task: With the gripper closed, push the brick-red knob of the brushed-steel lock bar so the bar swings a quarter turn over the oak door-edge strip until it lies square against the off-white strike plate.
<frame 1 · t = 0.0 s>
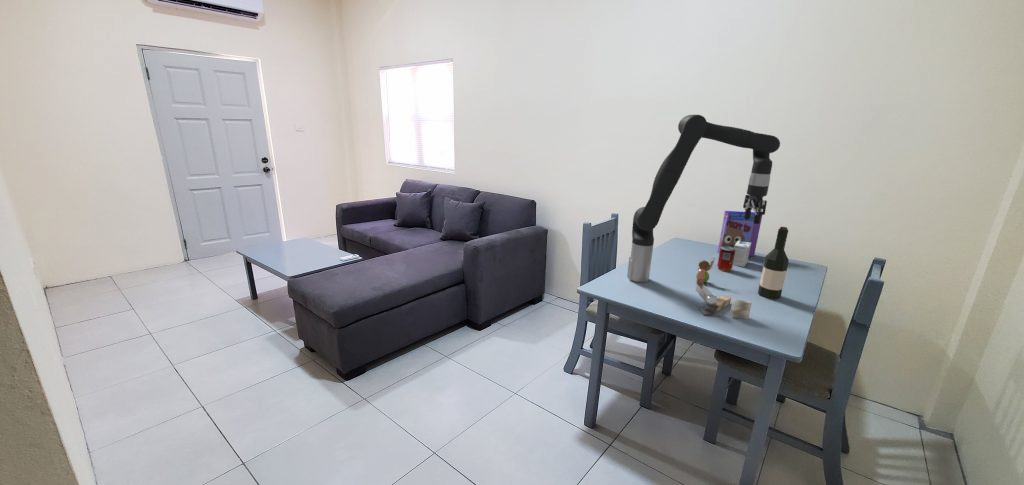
hand: (751, 221, 178), 29 cm above the table, tool pointing down, fingers open, 8 cm apart
light bulb box: (739, 263, 214), on the table
cereal box: (735, 254, 229), on the table
lock bar: (706, 286, 161), point 8 cm above the table, hinge at 0.0°
snail figurine: (702, 282, 187), on the table
soda can: (724, 269, 204), on the table
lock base: (709, 312, 157), on the table
wine bottle: (768, 296, 174), on the table
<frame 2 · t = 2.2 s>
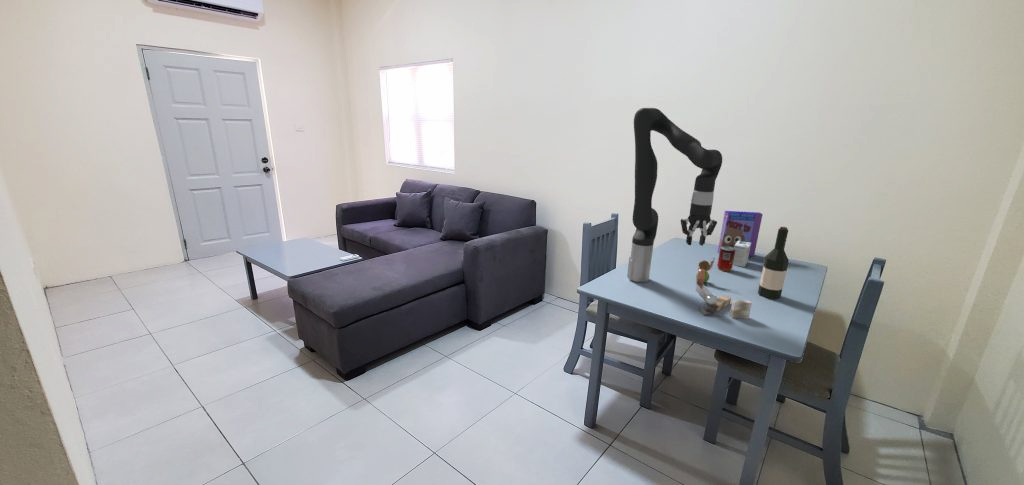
hand: (695, 244, 163), 23 cm above the table, tool pointing down, fingers open, 4 cm apart
nothing on the table moved.
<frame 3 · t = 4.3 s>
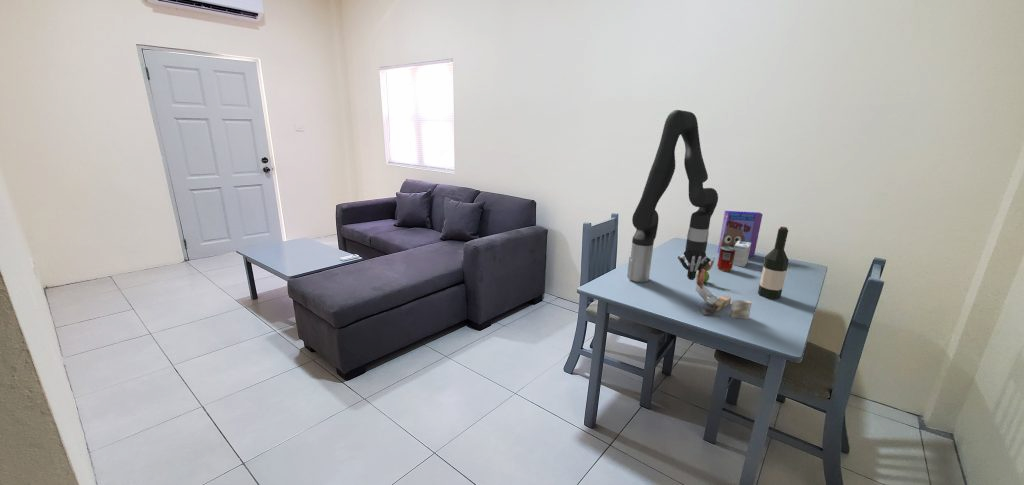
hand: (690, 279, 167), 9 cm above the table, tool pointing down, fingers closed
lock bar: (706, 286, 161), point 8 cm above the table, hinge at 0.0°, touching gripper
everything else where it was.
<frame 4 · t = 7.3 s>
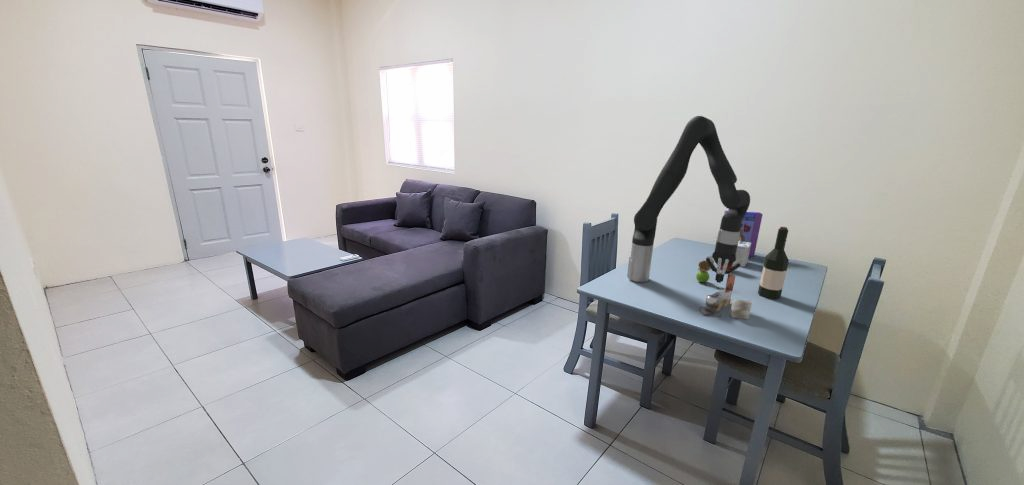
hand: (718, 282, 165), 9 cm above the table, tool pointing down, fingers closed
lock bar: (721, 289, 159), point 8 cm above the table, hinge at 48.9°, touching gripper
everything else where it was.
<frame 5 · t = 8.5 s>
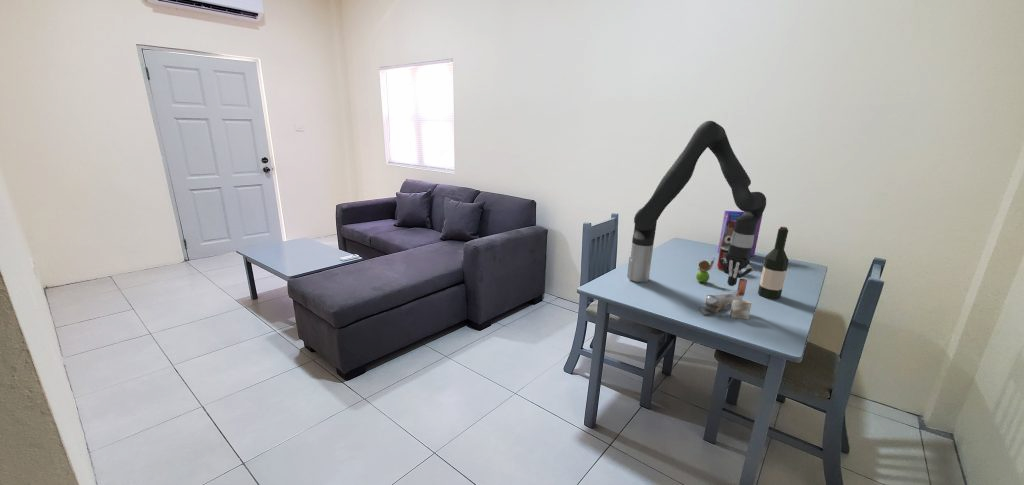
hand: (731, 285, 161), 9 cm above the table, tool pointing down, fingers closed
lock bar: (726, 292, 157), point 8 cm above the table, hinge at 71.3°, touching gripper
everything else where it was.
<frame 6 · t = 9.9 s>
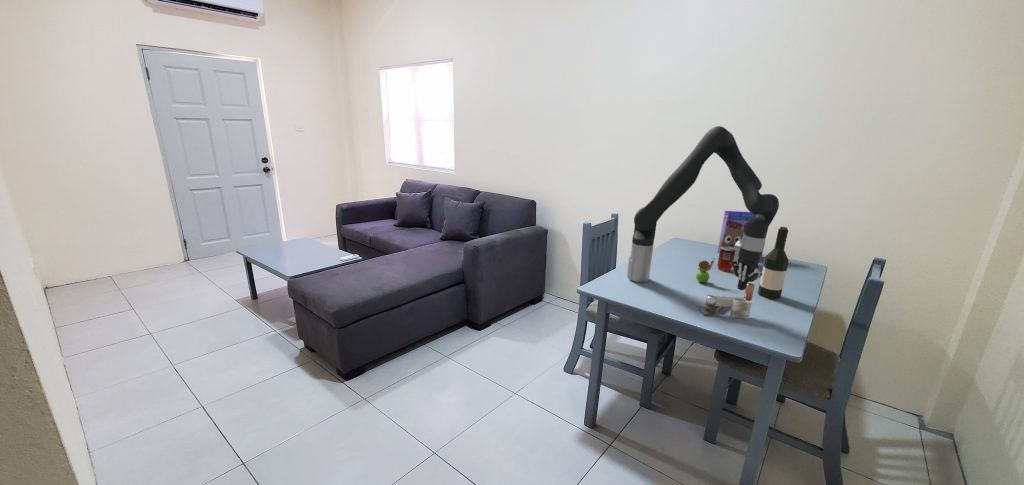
hand: (741, 289, 158), 9 cm above the table, tool pointing down, fingers closed
lock bar: (729, 294, 155), point 8 cm above the table, hinge at 91.3°, touching gripper, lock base
everything else where it was.
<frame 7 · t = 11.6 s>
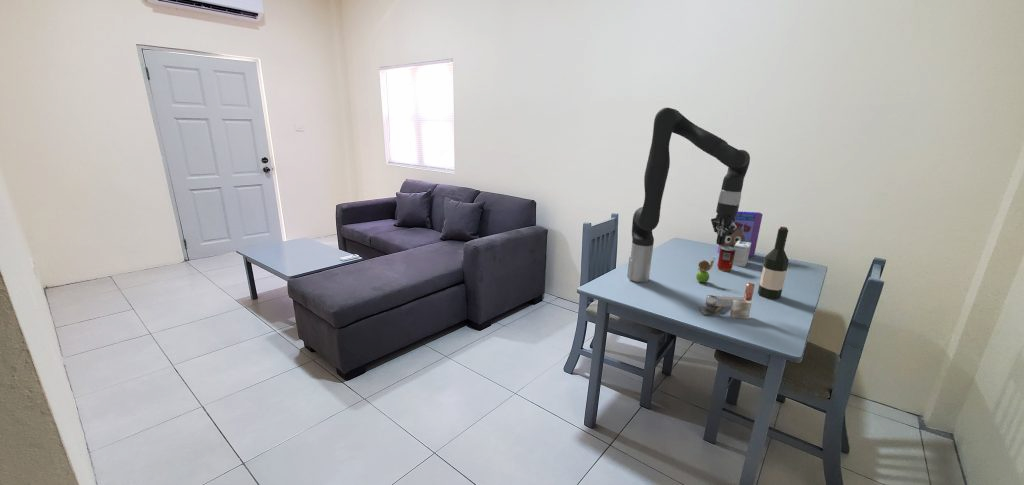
hand: (719, 244, 164), 23 cm above the table, tool pointing down, fingers closed
lock bar: (729, 294, 155), point 8 cm above the table, hinge at 91.1°
everything else where it was.
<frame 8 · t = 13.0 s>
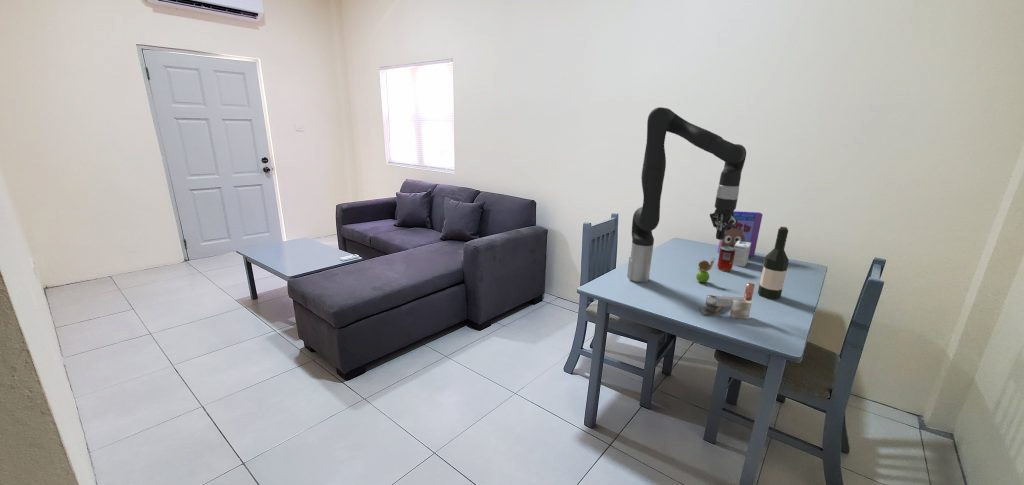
hand: (719, 239, 165), 25 cm above the table, tool pointing down, fingers closed
nothing on the table moved.
at the end: lock bar at +91° (first picture: +0°) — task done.
